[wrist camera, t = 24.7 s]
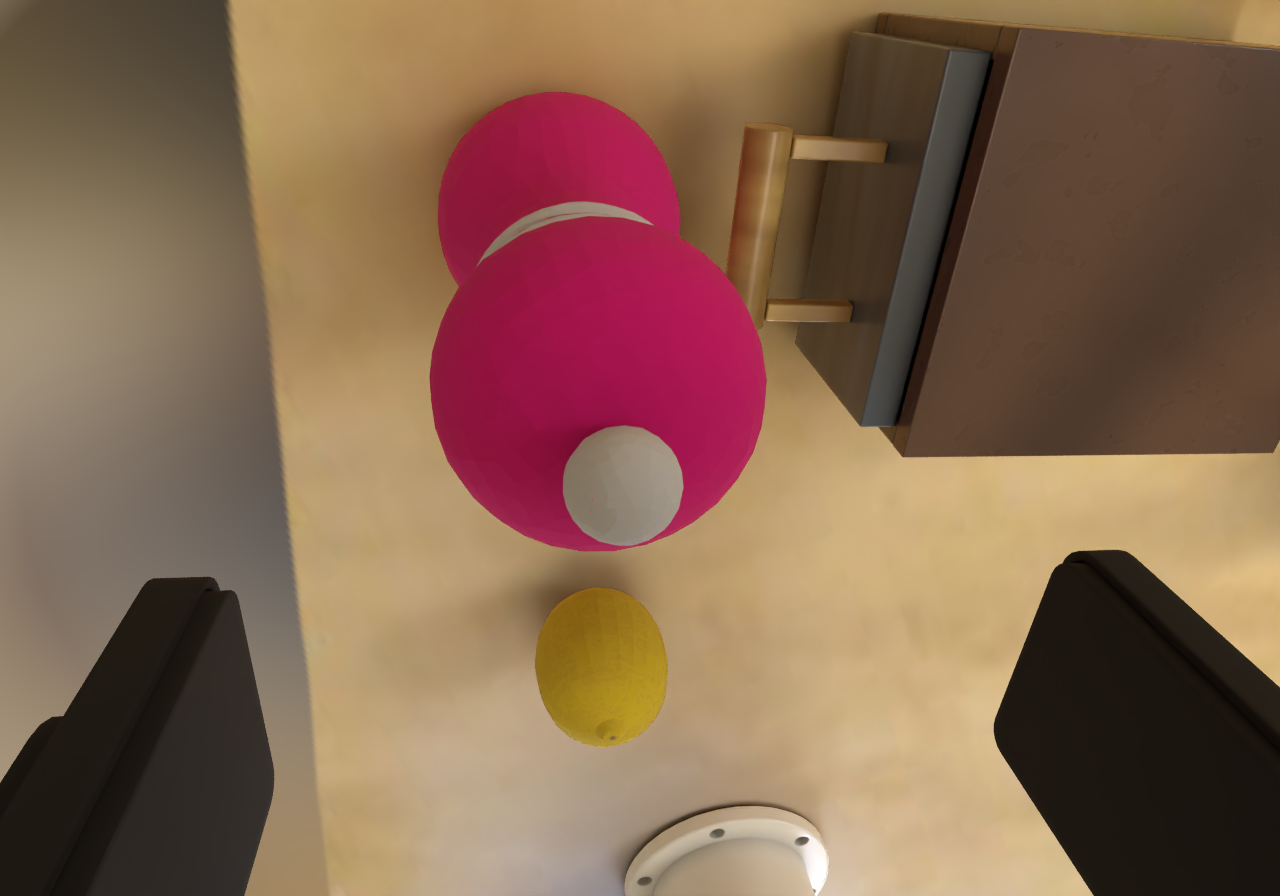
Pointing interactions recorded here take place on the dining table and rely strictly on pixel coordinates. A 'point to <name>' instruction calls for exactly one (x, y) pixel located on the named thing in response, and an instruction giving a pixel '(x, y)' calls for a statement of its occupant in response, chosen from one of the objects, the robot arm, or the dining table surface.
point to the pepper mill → (585, 333)
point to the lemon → (601, 667)
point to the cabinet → (1105, 251)
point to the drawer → (865, 213)
